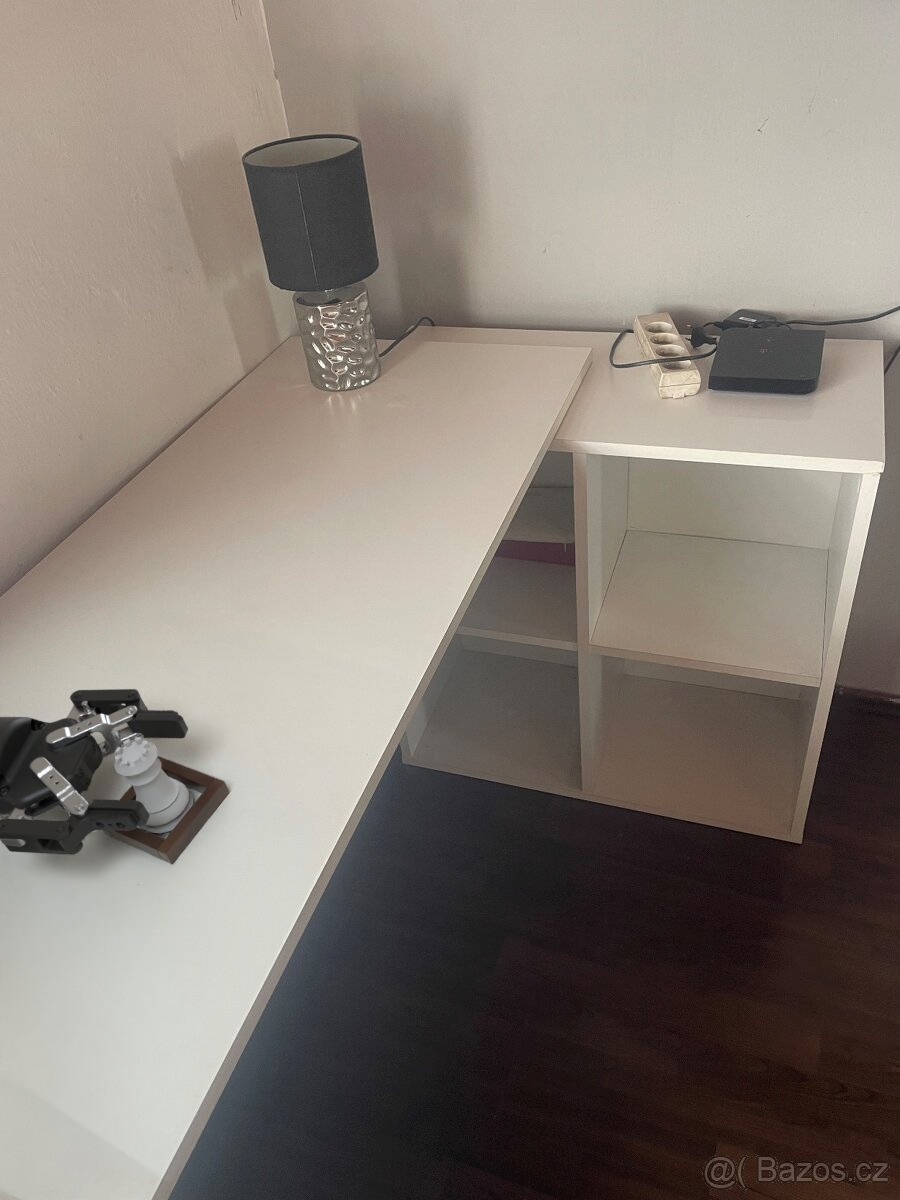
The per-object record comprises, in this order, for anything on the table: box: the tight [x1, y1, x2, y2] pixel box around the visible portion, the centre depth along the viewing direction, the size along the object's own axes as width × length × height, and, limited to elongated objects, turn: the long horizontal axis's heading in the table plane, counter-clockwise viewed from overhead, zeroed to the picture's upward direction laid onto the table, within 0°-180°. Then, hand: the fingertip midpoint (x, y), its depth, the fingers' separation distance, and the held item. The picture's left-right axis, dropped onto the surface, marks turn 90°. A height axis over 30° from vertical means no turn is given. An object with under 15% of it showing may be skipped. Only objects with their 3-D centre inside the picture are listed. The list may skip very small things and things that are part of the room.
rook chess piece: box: [113, 736, 194, 834], centre depth 67 cm, size 4×4×8 cm
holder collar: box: [102, 755, 230, 865], centre depth 69 cm, size 7×7×2 cm
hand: (165, 767), depth 66 cm, fingers open, 7 cm apart
